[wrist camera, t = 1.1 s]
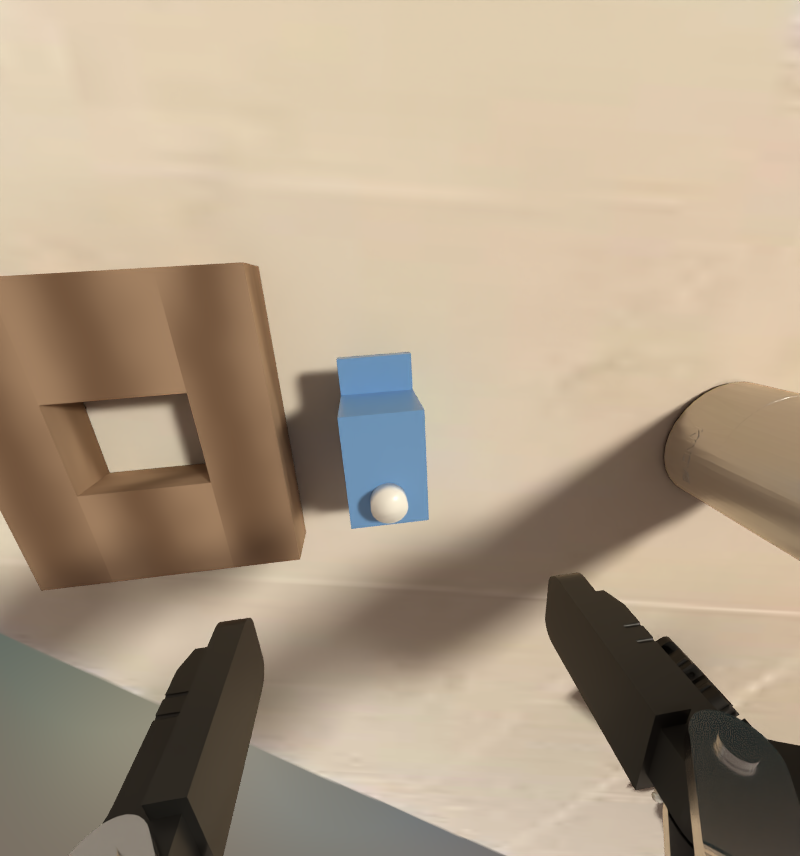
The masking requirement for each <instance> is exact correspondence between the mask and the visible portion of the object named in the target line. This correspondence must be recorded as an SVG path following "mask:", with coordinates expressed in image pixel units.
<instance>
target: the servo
mask: <svg viewBox="0 0 800 856" xmlns="http://www.w3.org/2000/svg"><path fill="white" fill-rule="evenodd" d="M337 367H338V375H339V384H340V392H341V398H340V405H339V411H338V417H337V419H338V427H339V435H340V442H341V450H342V458H343V466H344V474H345V482H346V490H347V497H348V505H349V513H350V521H351V529H354V528H363V527H371V526H380V525H388V524H397V523H406V522H414V521H423V520H429V515H428V490H427V465H426V440H425V415H424V408H423V407H422V405H421V403H420V402H419V400H418V398H417V396H416V395H415V393H414V391H413V389H412V370H411V353H410V352H403V353H390V354H377V355H364V356H352V357H339V358H337Z"/></svg>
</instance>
